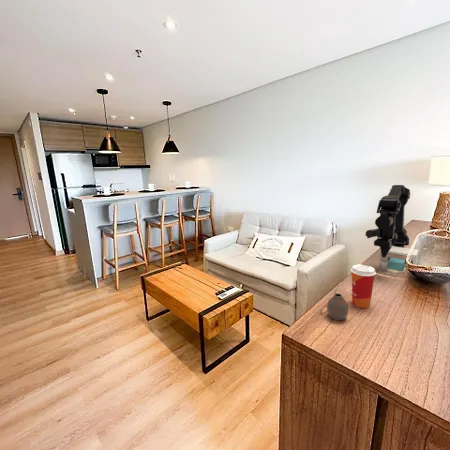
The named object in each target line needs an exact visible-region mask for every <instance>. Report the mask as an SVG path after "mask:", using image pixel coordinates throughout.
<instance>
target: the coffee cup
mask: <svg viewBox="0 0 450 450" xmlns="http://www.w3.org/2000/svg"><path fill="white" fill-rule="evenodd" d="M350 272H351V304H352V305H353V306H355V307H356V308H359V309H368V308H370V307H371V301H372V295H373V288H374V282H375V275H376V274H377V272H376V269H375V268H374V267H372V266H370V265H365V264H360V263H359V264H353V265H352V268H350Z"/></svg>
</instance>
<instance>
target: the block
mask: <svg viewBox="0 0 450 450" xmlns="http://www.w3.org/2000/svg"><path fill="white" fill-rule="evenodd" d="M405 264H406V259H402V258H396V257H390V258H388V269H393V270H398V272H400V271H403V269H404V266H405Z"/></svg>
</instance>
